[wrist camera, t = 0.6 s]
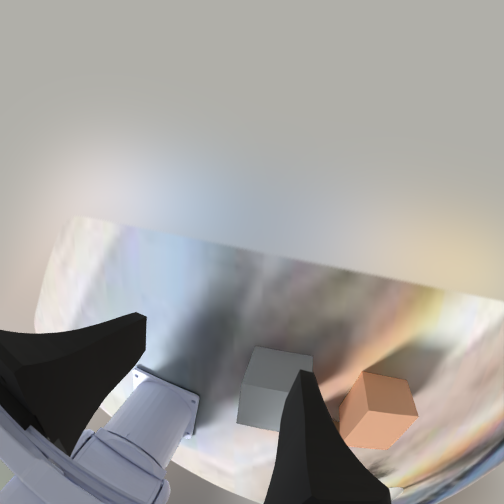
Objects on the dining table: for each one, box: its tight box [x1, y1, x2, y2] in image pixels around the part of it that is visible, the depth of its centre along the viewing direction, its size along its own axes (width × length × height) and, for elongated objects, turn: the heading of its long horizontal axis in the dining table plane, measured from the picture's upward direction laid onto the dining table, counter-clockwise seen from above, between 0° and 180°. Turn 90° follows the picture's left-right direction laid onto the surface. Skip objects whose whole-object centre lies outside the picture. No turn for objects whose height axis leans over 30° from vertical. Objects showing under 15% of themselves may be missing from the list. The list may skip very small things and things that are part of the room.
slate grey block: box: [236, 346, 313, 432], centre depth 21 cm, size 5×5×5 cm
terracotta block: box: [339, 371, 419, 450], centre depth 19 cm, size 5×5×5 cm
